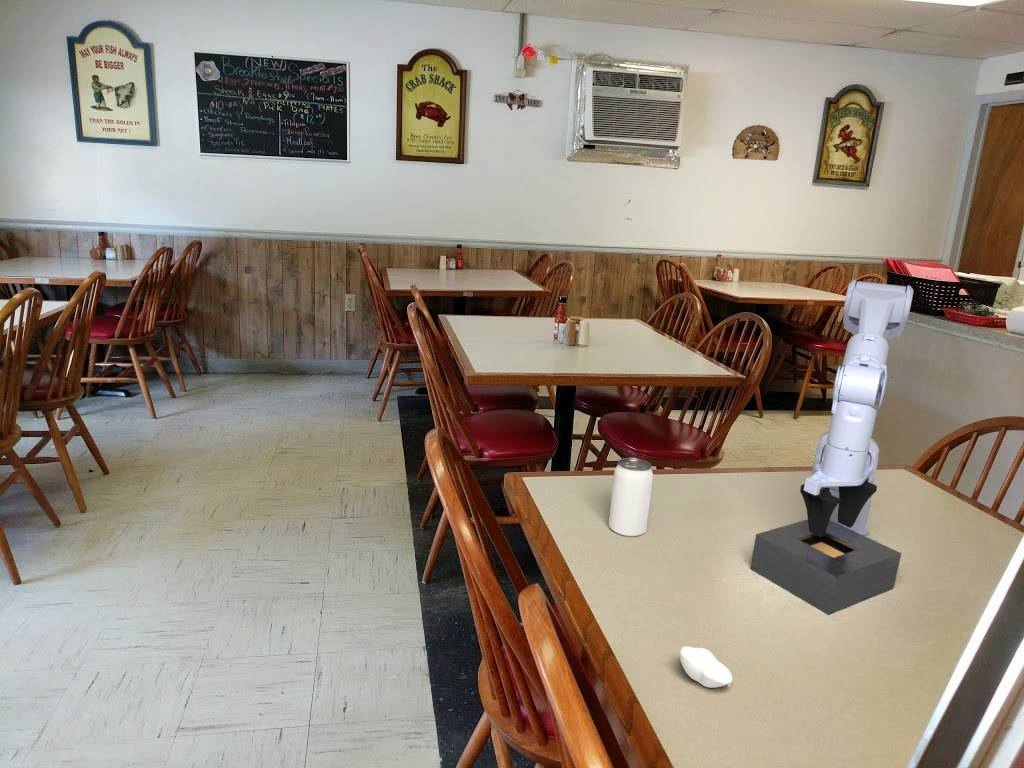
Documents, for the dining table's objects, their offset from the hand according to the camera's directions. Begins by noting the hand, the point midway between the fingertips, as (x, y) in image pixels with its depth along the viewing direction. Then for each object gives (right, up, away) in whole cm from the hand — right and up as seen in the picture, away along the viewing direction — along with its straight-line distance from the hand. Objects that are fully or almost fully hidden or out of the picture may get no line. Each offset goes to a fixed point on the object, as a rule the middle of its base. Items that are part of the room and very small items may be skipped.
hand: (830, 529), depth 110 cm
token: (-1, -7, +2) cm, 8 cm away
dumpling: (-26, -14, -23) cm, 37 cm away
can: (-29, -3, +14) cm, 32 cm away
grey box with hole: (-1, -8, +2) cm, 8 cm away
